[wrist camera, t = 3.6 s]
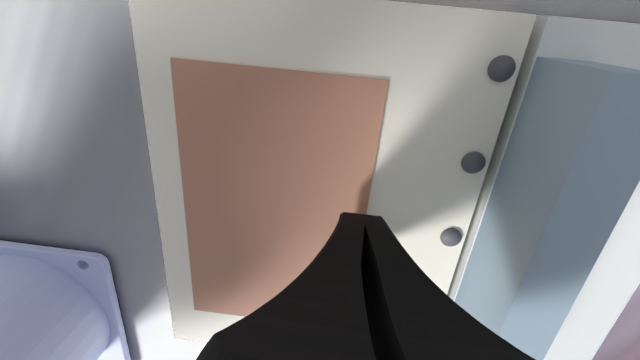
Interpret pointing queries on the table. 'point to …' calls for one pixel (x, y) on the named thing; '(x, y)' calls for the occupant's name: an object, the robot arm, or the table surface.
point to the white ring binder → (313, 135)
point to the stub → (560, 195)
